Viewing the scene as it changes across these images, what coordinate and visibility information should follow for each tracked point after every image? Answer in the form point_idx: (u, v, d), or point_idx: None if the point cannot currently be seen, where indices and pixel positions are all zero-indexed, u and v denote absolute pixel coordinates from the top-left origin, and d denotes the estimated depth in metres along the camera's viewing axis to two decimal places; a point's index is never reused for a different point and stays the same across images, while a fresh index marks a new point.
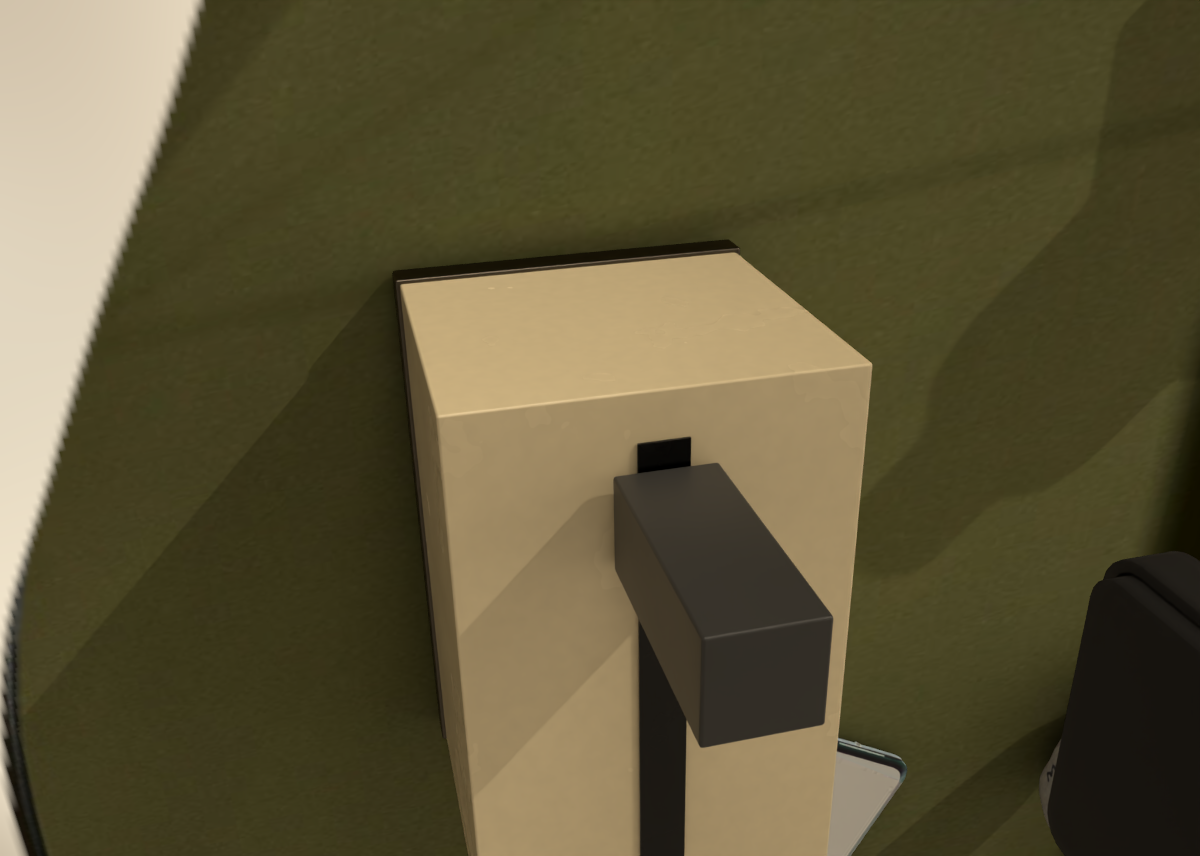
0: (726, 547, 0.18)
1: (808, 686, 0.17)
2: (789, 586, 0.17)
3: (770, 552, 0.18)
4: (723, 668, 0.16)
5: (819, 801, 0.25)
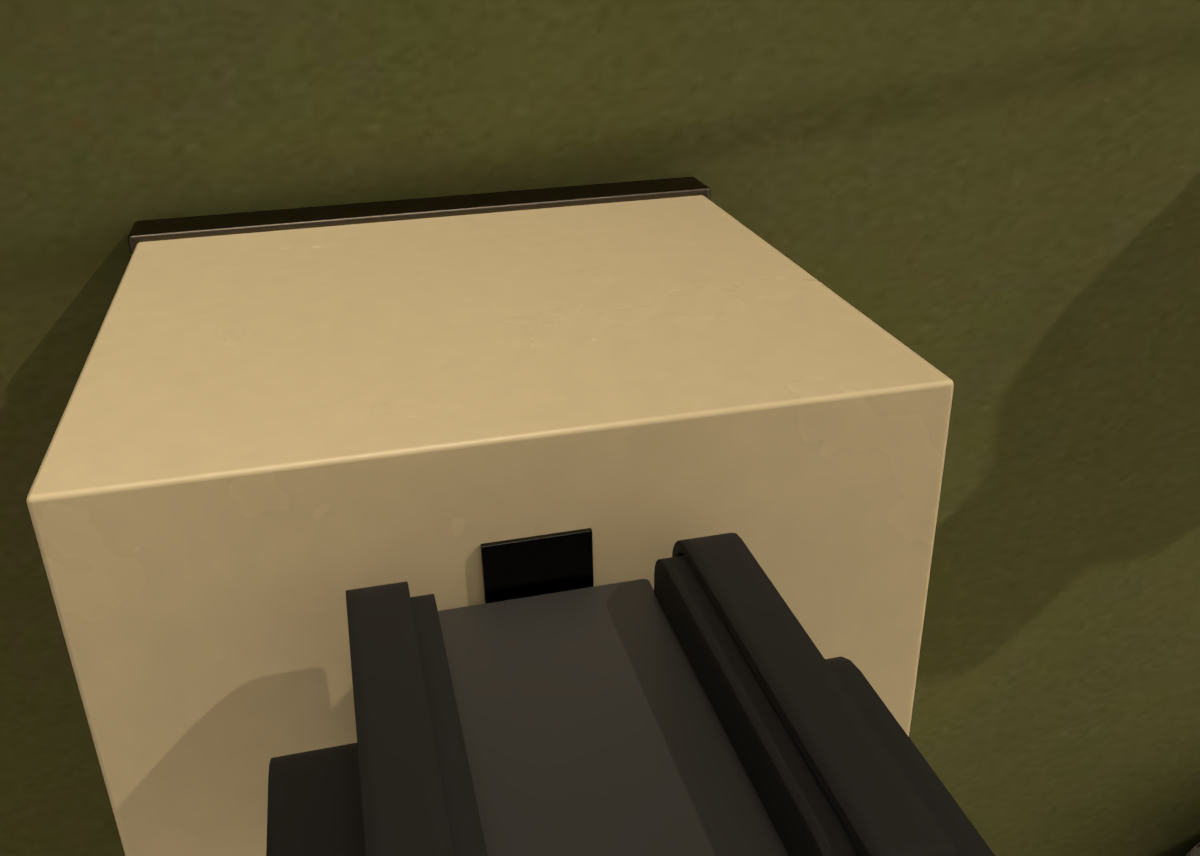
0: (642, 815, 0.08)
1: None
2: None
3: (746, 834, 0.07)
4: None
5: None
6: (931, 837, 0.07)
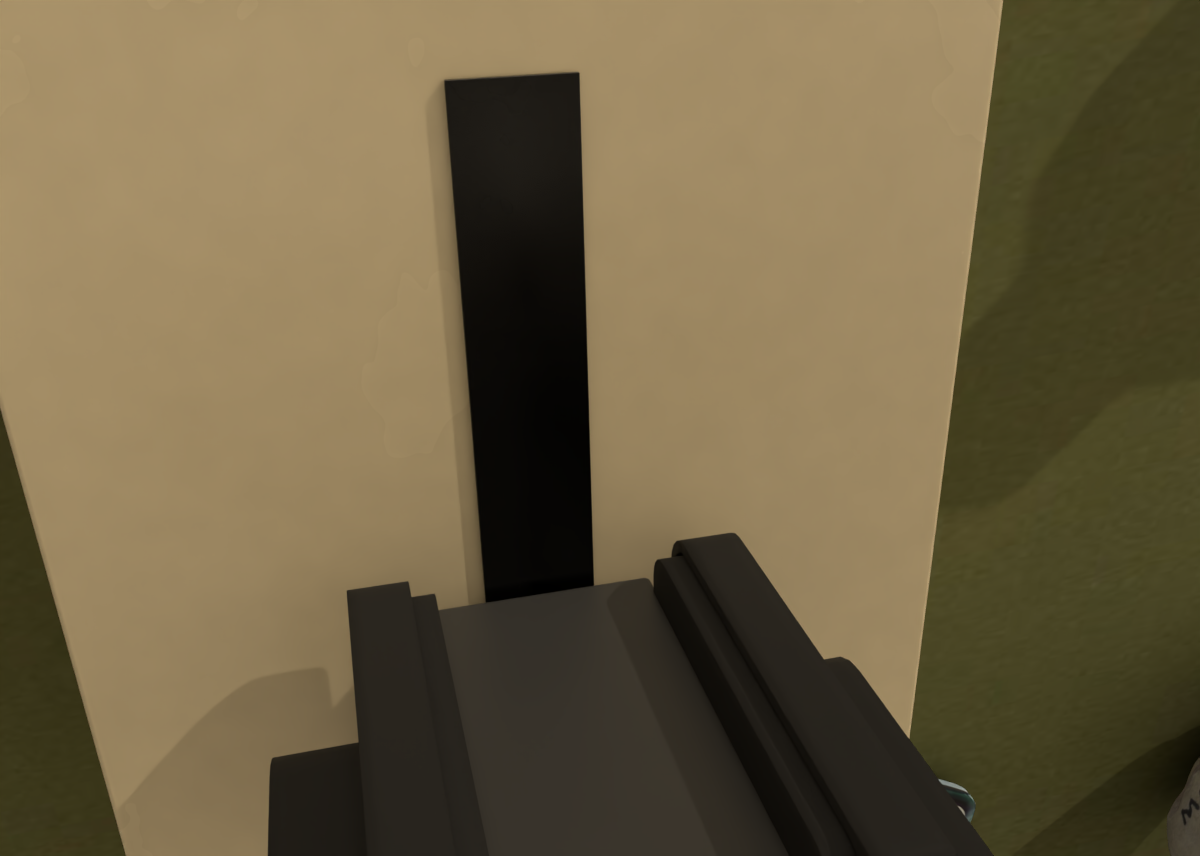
0: (642, 814, 0.08)
1: None
2: None
3: (747, 833, 0.07)
4: None
5: None
6: (931, 837, 0.07)
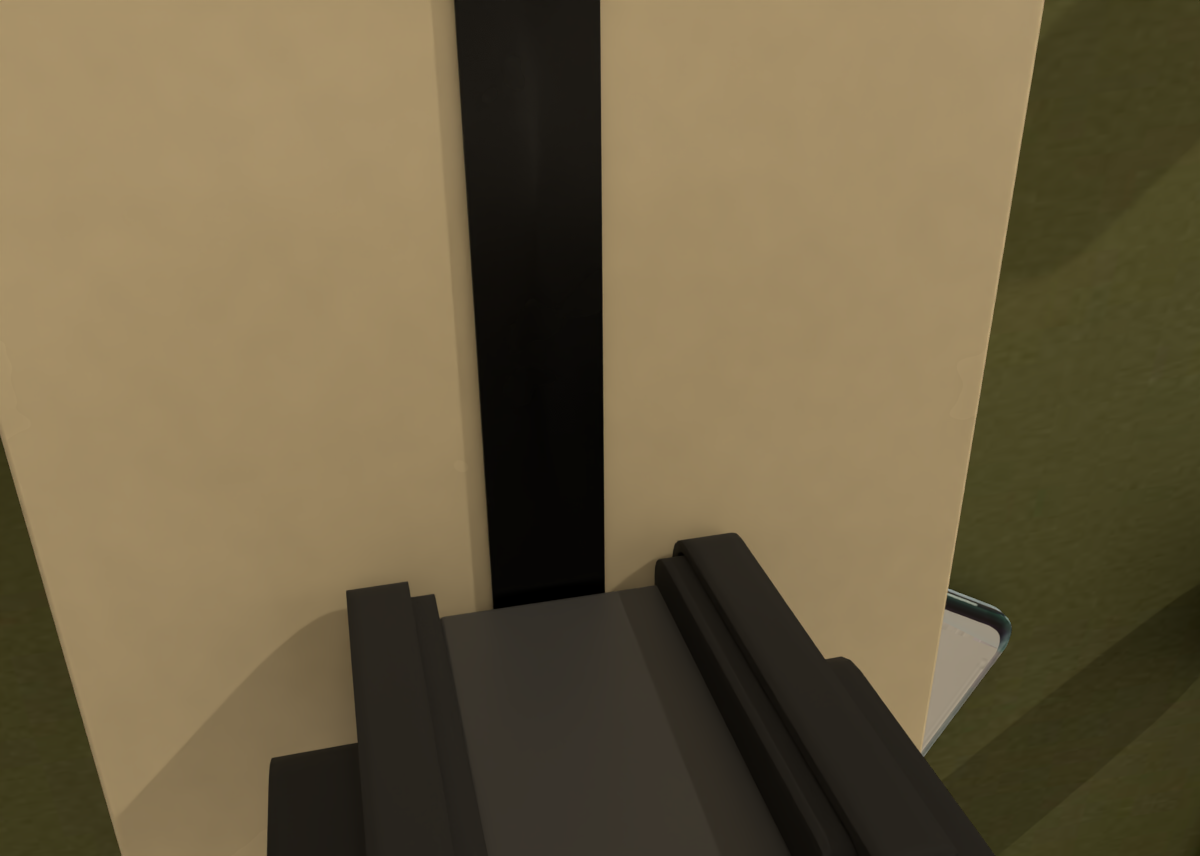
0: (655, 843, 0.07)
1: None
2: None
3: None
4: None
5: (920, 588, 0.11)
6: (932, 836, 0.07)
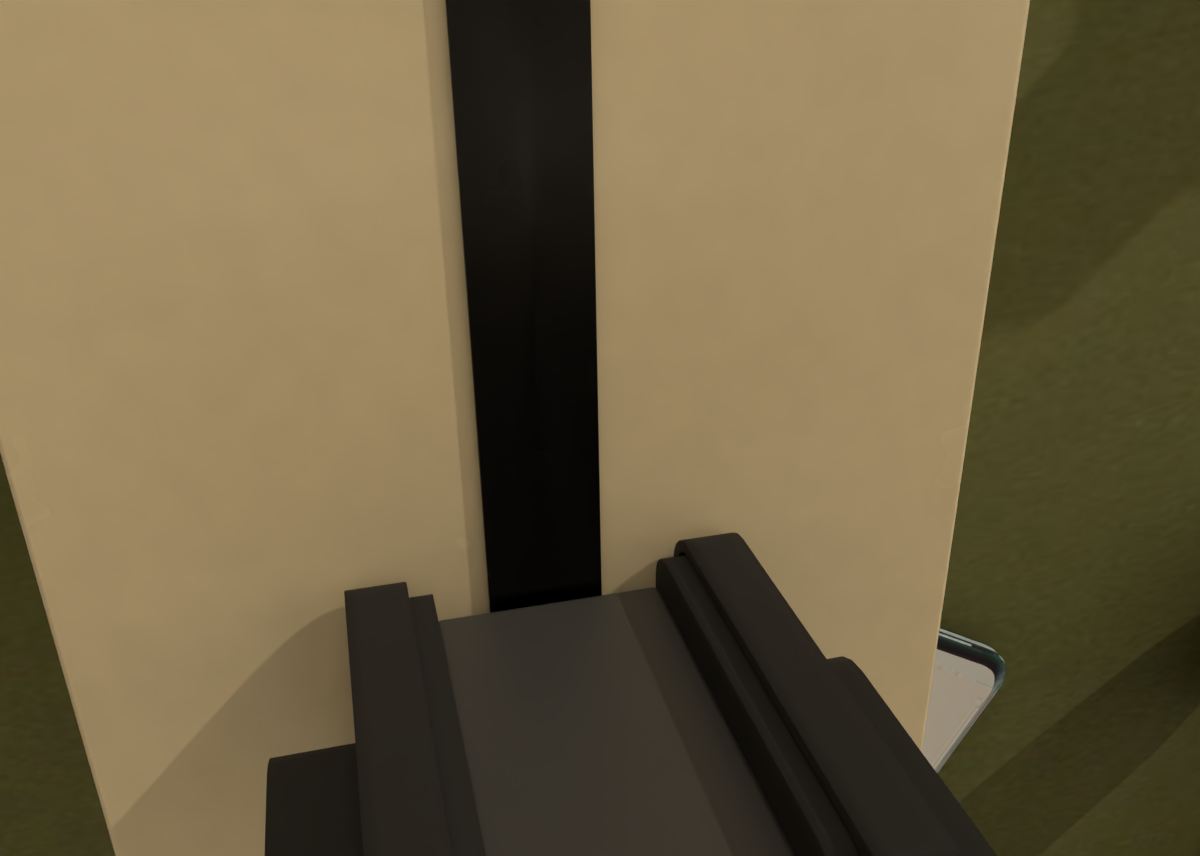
0: (653, 840, 0.07)
1: None
2: None
3: None
4: None
5: (909, 649, 0.11)
6: (934, 836, 0.07)
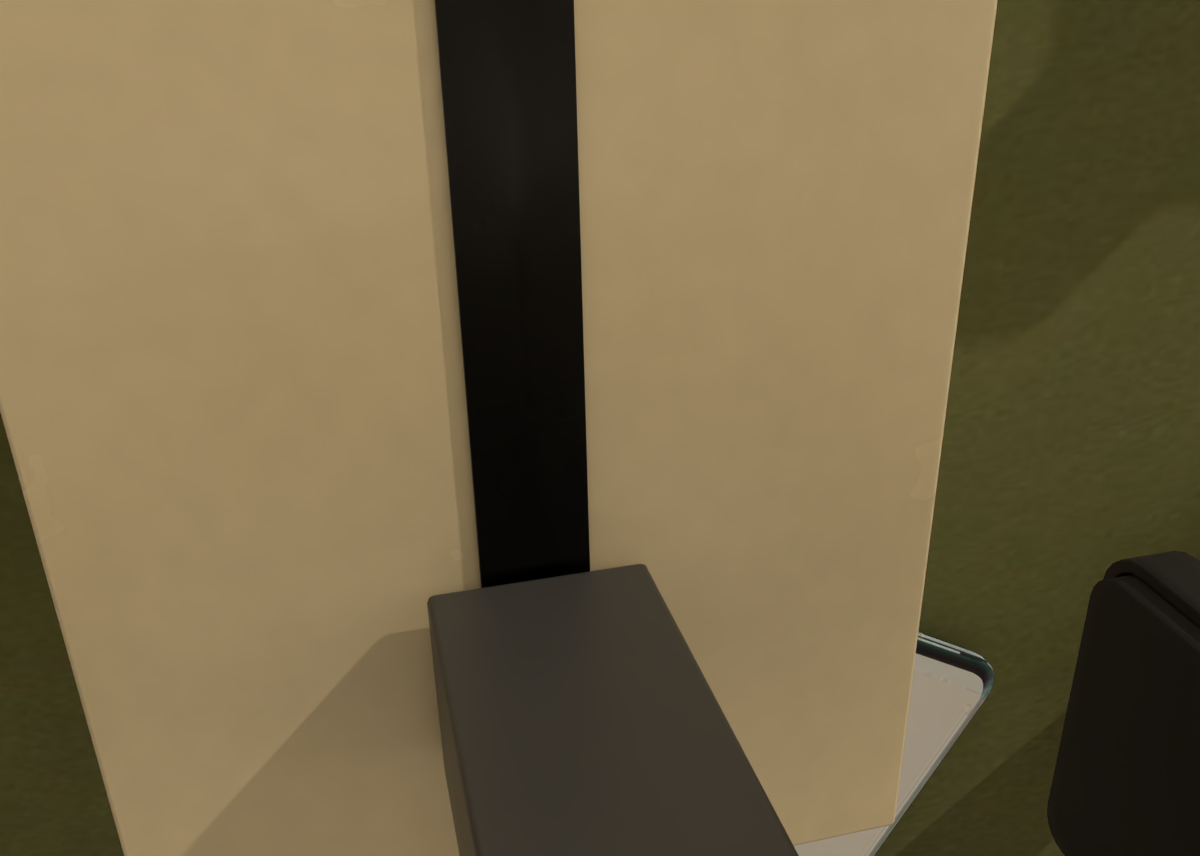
0: (636, 794, 0.08)
1: None
2: None
3: (742, 813, 0.07)
4: None
5: (889, 655, 0.12)
6: None
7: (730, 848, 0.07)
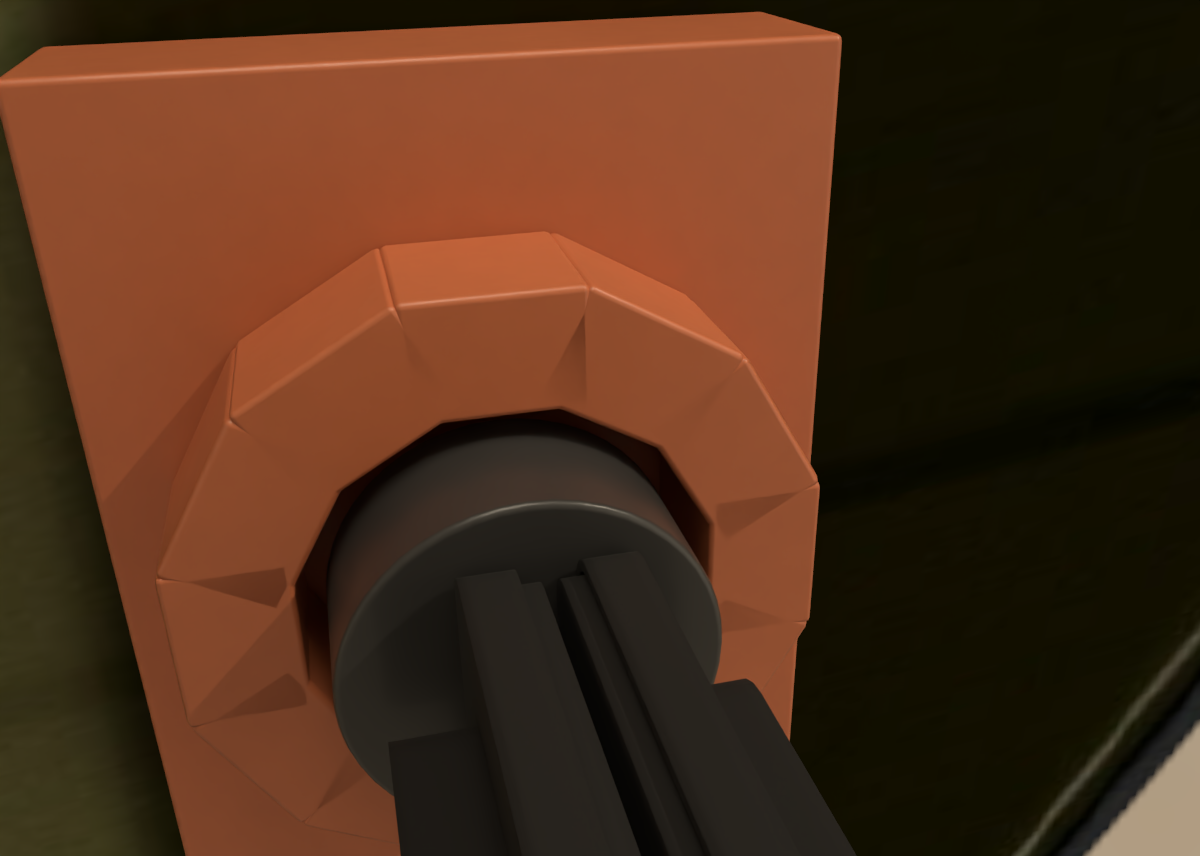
0: None
1: None
2: None
3: None
4: None
5: None
6: None
7: None
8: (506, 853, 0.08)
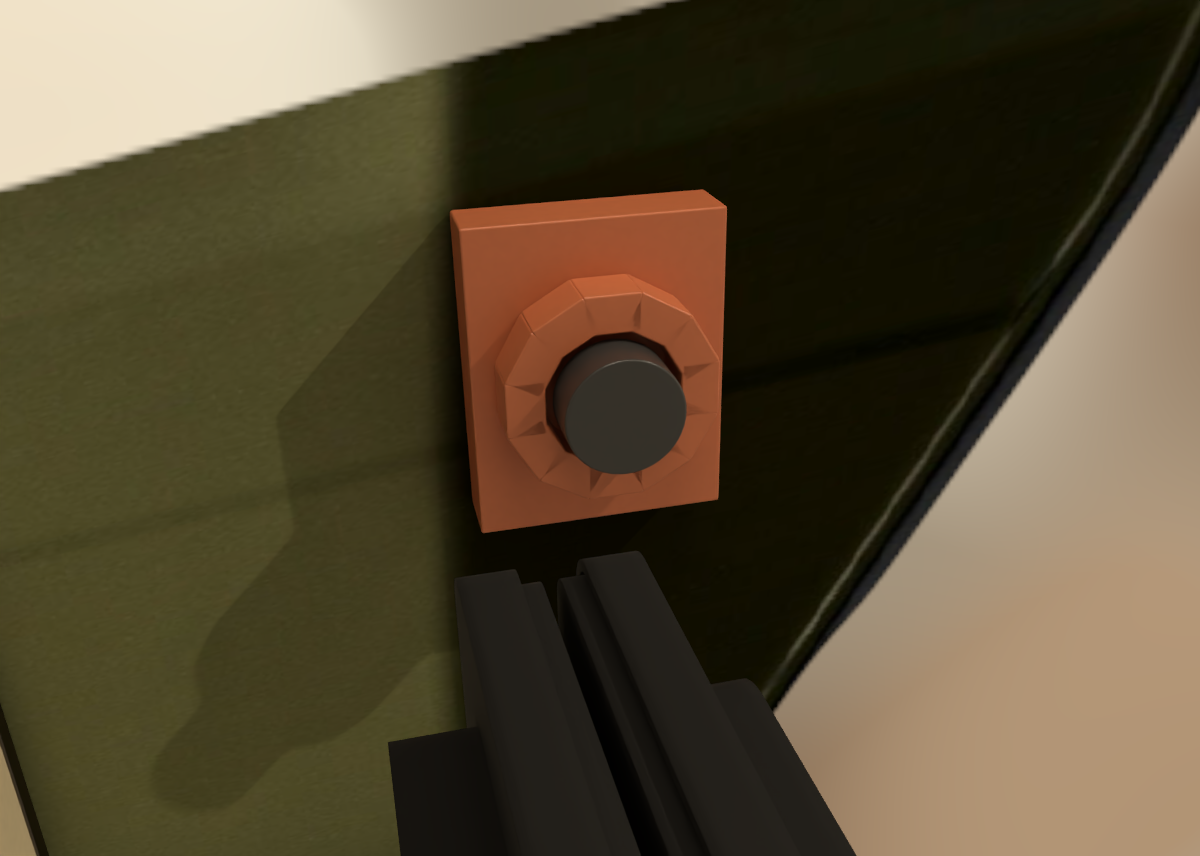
0: None
1: None
2: None
3: None
4: None
5: None
6: None
7: None
8: (506, 853, 0.08)
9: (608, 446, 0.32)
